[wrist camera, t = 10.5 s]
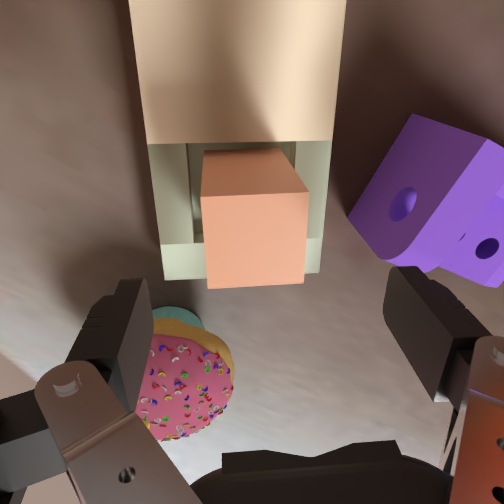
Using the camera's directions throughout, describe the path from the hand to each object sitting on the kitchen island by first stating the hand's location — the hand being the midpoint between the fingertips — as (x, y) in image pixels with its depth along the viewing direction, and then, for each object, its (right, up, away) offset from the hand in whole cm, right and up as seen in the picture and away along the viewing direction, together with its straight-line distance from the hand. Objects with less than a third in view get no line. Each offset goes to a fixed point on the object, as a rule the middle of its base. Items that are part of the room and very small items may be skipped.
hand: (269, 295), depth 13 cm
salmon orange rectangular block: (-1, +5, +8) cm, 10 cm away
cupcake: (-6, -4, +14) cm, 16 cm away
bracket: (+12, +5, +12) cm, 18 cm away
